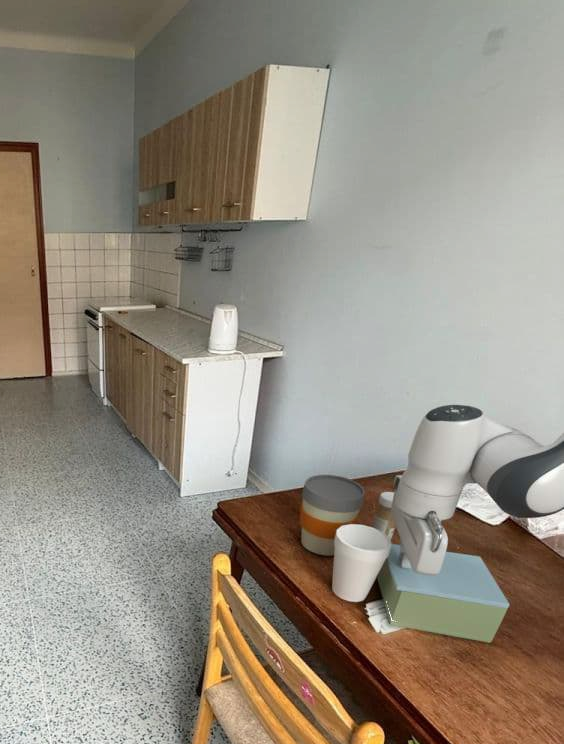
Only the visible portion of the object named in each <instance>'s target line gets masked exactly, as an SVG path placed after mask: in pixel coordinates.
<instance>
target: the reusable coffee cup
mask: <svg viewBox="0 0 564 744" xmlns="http://www.w3.org/2000/svg"><path fill="white" fill-rule="evenodd" d="M365 496H366V489H365V488H364V486H362V485H361V484H360V483H358V482H357V481H355V480H352V479H350V478H348V477H344V476H341V475H340V476H339V475H334V474H316V475H312V476H310V477H308V478H307V479H306V480H305V482H304V484H303V488H302V492H301V497H302V501H301V502H300V513H299V514H300V515H299V518H300V519H299V524H300V526H301V535H300V542H301V545H302V547H304V548H305V549H306V550H308V551H309V552H312V553H313V554H317V555H321V556H328V557H329V556H330V557H331V556H334V553H335V546H334V539H335V535H336V531H337V529H339V528H340V527H341V526H344V525H349V524H357V523H358V520H359V518H360V510H361V509H362V508H363V507H364V504H365Z"/></svg>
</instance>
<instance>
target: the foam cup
mask: <svg viewBox="0 0 564 744" xmlns="http://www.w3.org/2000/svg"><path fill="white" fill-rule="evenodd" d="M392 544H393V543H392V538H391V539H390V538H389V537H388V536H387V535H386V534H385V533H383V532H381V531H379V530H377V529H375V528H372V526H369V525H368V526H367V525H364V524H357V523H356V524H349V525H344V526H341V527H340V528H339V529H337V531H336V535H335V539H334V546H335V553H334V555H333V567H332V579H331V581H332V582H331V590H332V592H333V593H334V595H335V596H337V598H340V599H341V600H344V601H347V602H350V603H359V602H362V601H364V600H365V599H366V598H367V596H368V594H369V593H370V591H371V588H372V587H373V584H374V583H375V581H376V579H377V578H378V575H379V572H380V569H381V567H382V565H383V563H384V561H385V559H386V558H387V557H388V556H389V553H390V550H391V547H392Z"/></svg>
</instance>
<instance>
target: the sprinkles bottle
mask: <svg viewBox="0 0 564 744" xmlns="http://www.w3.org/2000/svg"><path fill="white" fill-rule="evenodd" d="M393 496H394V492H393V491H383V492H381V493H380V495H379V498H378V504H377V507H376V512H375V514H374V518H373V521H372V524H371V527H372V528H375V529H377V530H379V531H381V532H383V533H385V534H386V535H387V536H388V537H389V538H390V539H391V540H392V538H393V535H394V532H395V529H396V526H395V523H394V521H393V518H392V516H391V506H392V501H393Z"/></svg>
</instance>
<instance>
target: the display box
mask: <svg viewBox="0 0 564 744" xmlns="http://www.w3.org/2000/svg"><path fill="white" fill-rule="evenodd" d="M376 579H377V582H378V583H377V584H378V585H379V589H380V593H381V597H382V600H383V604H384V607H385V611H386V615H387V618H388V621H389V625H390V626H395V627H401V628H405V629H406V628H407V629H411V630H418V631H421V632H422V631H423V632H429V633H433V634H434V633H435V634H438V635H446V636H450V637H455V638H461V639H466V640H472V641H478V642H482V643H483V642H484V643H489V644H491V643H492V642H493V640H494V638H495V636H496V633H497V632H498V629H499V628H500V625H501V623H502V622H503V619H504V618H505V615H506V613H507V611H508V608H509V607H508V608H503V607H497V606H491V605H485V604H479V603H473V602H467V601H461V600H455V599H449V598H443V597H437V596H431V595H425V594H419V593H413V592H407V591H401V590H396V587H395V584H394V581H393V578H392V575H391V572H390V569H389V566H388V563H387V559H385V561H384V563H383V565H382V567H381V569H380V571H379V573H378V575H377V577H376ZM386 601H387V603H386ZM387 605H388V607H387ZM388 608H389V610H388ZM389 611H390V614H391V617H392V620H394V621H391V617H390V614H389ZM395 621H396V622H395Z"/></svg>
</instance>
